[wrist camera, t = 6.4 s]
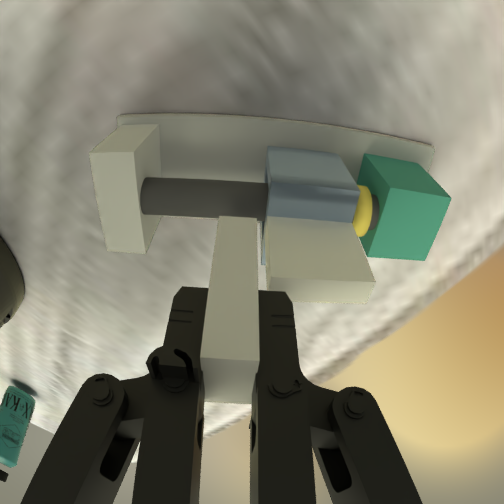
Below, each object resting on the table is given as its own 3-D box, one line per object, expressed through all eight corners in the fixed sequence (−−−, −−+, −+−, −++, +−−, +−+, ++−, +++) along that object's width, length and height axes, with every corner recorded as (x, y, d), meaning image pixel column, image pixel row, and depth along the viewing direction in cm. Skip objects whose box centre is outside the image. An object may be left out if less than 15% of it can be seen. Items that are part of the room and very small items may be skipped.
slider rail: (130, 210, 22) (103, 259, 17) (120, 114, 17) (80, 145, 13) (402, 230, 22) (430, 279, 18) (431, 145, 18) (474, 182, 14)
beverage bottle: (37, 399, 47) (13, 486, 31) (9, 384, 44) (-19, 470, 29) (40, 391, 44) (13, 487, 28) (9, 374, 41) (-23, 468, 26)
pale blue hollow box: (259, 216, 20) (262, 328, 13) (267, 145, 17) (277, 237, 10) (322, 221, 20) (353, 329, 13) (337, 153, 17) (390, 246, 10)
